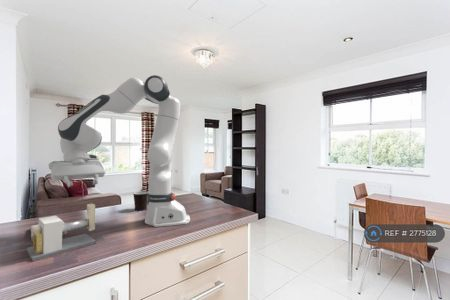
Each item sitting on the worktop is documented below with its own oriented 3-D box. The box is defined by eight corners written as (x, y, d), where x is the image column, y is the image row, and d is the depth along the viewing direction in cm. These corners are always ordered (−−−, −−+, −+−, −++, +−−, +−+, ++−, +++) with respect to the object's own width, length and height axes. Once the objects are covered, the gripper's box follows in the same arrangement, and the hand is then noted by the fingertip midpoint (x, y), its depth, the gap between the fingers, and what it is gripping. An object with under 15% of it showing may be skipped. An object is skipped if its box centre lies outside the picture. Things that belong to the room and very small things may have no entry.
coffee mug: (135, 207, 137) (135, 191, 137) (149, 207, 137) (150, 191, 137) (129, 212, 125) (129, 195, 125) (144, 212, 126) (144, 195, 126)
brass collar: (38, 247, 78) (38, 229, 78) (42, 252, 74) (42, 234, 74) (32, 248, 77) (33, 231, 77) (36, 254, 73) (36, 235, 73)
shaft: (92, 227, 90) (92, 203, 90) (94, 229, 88) (95, 204, 88) (44, 239, 78) (44, 210, 78) (46, 241, 76) (46, 212, 76)
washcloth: (31, 243, 85) (31, 235, 85) (29, 230, 98) (29, 223, 98) (68, 235, 93) (68, 228, 93) (62, 224, 106) (62, 218, 106)
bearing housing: (85, 235, 92) (86, 209, 92) (95, 243, 84) (96, 214, 84) (26, 250, 78) (26, 219, 78) (32, 261, 70) (32, 227, 70)
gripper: (49, 156, 91) (54, 182, 84) (102, 155, 106) (110, 178, 100) (46, 166, 94) (51, 192, 87) (98, 164, 109) (106, 186, 103)
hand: (83, 184), depth 94 cm, fingers open, 8 cm apart
